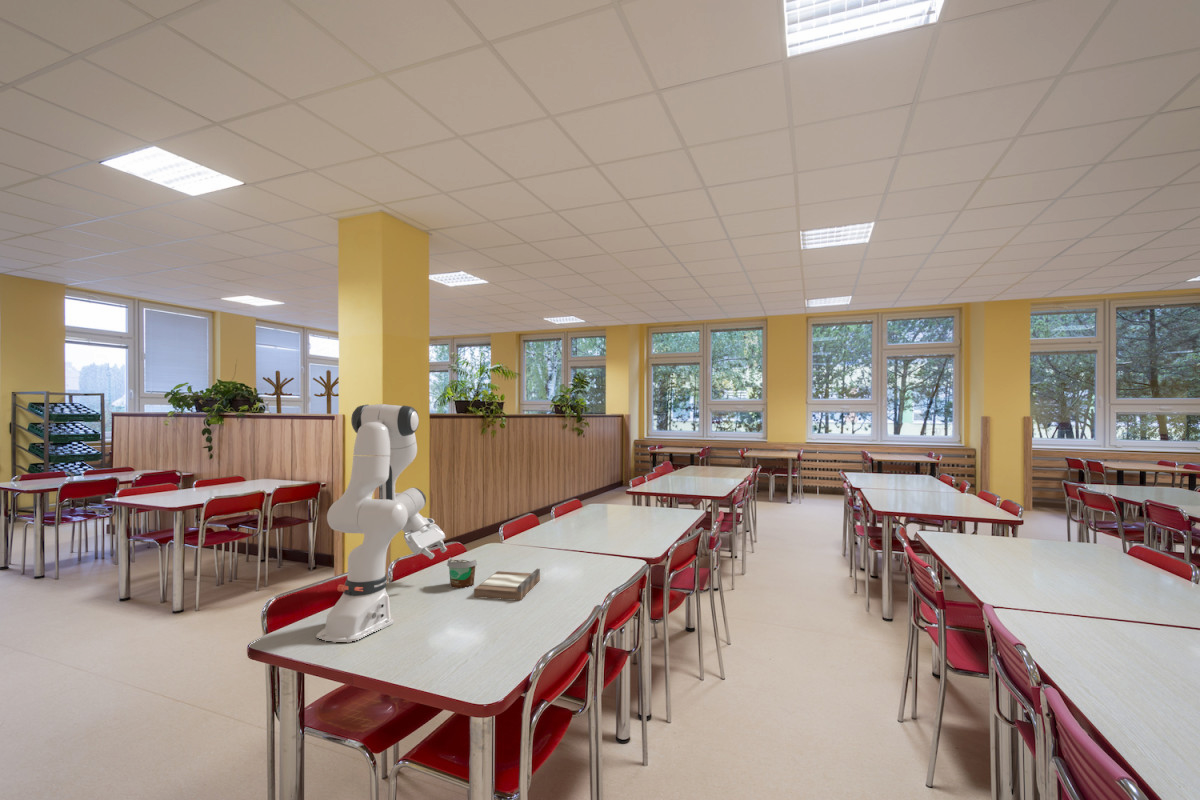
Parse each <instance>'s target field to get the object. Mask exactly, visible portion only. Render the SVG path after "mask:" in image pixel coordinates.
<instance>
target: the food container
mask: <svg viewBox="0 0 1200 800" xmlns="http://www.w3.org/2000/svg"><path fill="white" fill-rule="evenodd" d="M477 565H478V563H477V559H473V560H469V561H468V560H465V559H452V557H449V558H448V560H447V563H446V566H447V567H448V571H449V585H450V587H451V588H453V587H454V589H466V588H465V587H467V588H470V587H469V586H471V587H473V586H474V584H475V573H476V566H477ZM472 585H473V586H472Z"/></svg>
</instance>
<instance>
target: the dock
mask: <svg viewBox="0 0 1200 800" xmlns="http://www.w3.org/2000/svg"><path fill="white" fill-rule="evenodd" d="M539 581H540V582H541V568H536V569H535V570H534V571H533V572H532V573H531V572H517V571H516V572H515V571H502V570H501V571H500V570H499V571H498V570H497V571H495V572H494V573H493V574H492V575H490V576H489V577H488V578H486V579H485V580H484V581H482V582H481V583H480V584H478V585H477V586H475V587H474V588H473V597H474V598H479V597H487V598H486V599H493V598H501V599H500V600H506V599H515V600H514V601H520V600H521V601H522V600H523V599H524V598H525V597H526V596H527V595H528V594H529V593H530V592H531V591H532V590H533V589H534V588H535V587H536V586H537V585H538V584H539V583H540V582H539ZM538 582H539V583H538ZM537 583H538V584H537ZM536 584H537V585H536ZM535 585H536V586H535ZM534 586H535V587H534ZM533 587H534V588H533ZM532 588H533V589H532ZM531 589H532V590H531ZM530 590H531V591H530ZM529 591H530V592H529ZM528 592H529V593H528ZM527 593H528V594H527ZM526 594H527V595H526ZM525 595H526V596H525ZM524 596H525V597H524ZM523 597H524V598H523Z"/></svg>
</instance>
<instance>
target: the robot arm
mask: <svg viewBox="0 0 1200 800" xmlns="http://www.w3.org/2000/svg"><path fill="white" fill-rule="evenodd" d="M350 418H351V419H350V420H351V426H352V429H353V431H354V432H355V433H356V437H355V441H354V444H353V445H354V446H353V452H352V453H353V456H352V466H351V472H350V473H351V475H350V480H349V483H348V485H347V488H346V489H345V491H344V493H343V494H342V495H341V496H340V498H338V499H337V500H336V501H335V502H333V503H332V504H331V506H330V507H329V509H328V510H327V513H326V521H327V524H328V526H329V528H330V529H331V530H333V531H337V532H341V533H344V534H363V536H364V537H363V541H362V544H360V545H358V546H356V547H354V548H353V549H352V550H351V551H350V553H349V554H348V557H347V578H346V580H345V582H344V584H342V583H341V584H338V586H337V591H338V592H343V593H342V595H341V596H340V598H339V599H338V600H337V601H336V603H335V605H334V606H333V607H332V608H331V610H330V611H329V612H328V614H327V617H326V622H325V627H324V628H322V629H321V630H320V631H318V632H317V633H316V637H317V638H319V639H322V640H325V641H324V642H326V641H333V642H332V643H336V642H347V643H353V642H352V641H355V642H357V641H356V640H358V641H360V640H359V639H361V638H363V637H365V636H367V635H369V634H371V633H373V632H375V633H376V631H377V632H378V630H379V631H381V630H383V629H386V628H387V627H389V626H391V625H393V624H394V619H393V618H392V617H391V608H390V607H391V605H390V597H389V594H388V593H387V589H386V587H387V586H388V584H387V583H388V576H387V574H386V568H387V567H386V565H387V564H386V563H387V553H388V548H389V546H390V544H391V541H392V540H393V539H394V538H395V536H396V535H397V534H398V533H400V532H401V531H402V532H404V533H403V539H404V540H405V543H406V546H408V548H409V550H410V551H411V552H412V553H413V554H414V555H418V554H420V553H422V554H423V556H426V557H428V559H430V560H433V559H434V557H436V555H435V553H434V551H430V550H429V549H430V548H432V547H434V546H437V547H439V549H440V552H441V553H443V554H444V553H445V552H447V550H448V548H447V547H446V546H445V543H444V540H445V539H446V534H445V532H444V531H443V530H442V529H441V528H440V526H439V525H438V524H436V523H435V522H436V521H435V520H434V519H433V518H431V517H430V518H429V517H424V516H423V515H422V514H420V511H422V510H423V508H424V507H425V506H426V503H427V497H426V494H424V492H423V491H422V490H421V489H419V488H418V487H409V488H407V489H406V490H404V491H401V492H396V482H397V480H398V478H399V476H400V475H401V474H402V473H403V471H405V470H406V469H407V467H409V466H410V465H411V464H412V463H413V462H414V460H416V459H415V458H416V456H417V454H418V444H417V438H416V433H415V432H416V431H418V428H419V420H420V419H419V418H420V417H419V414H418V411H417V410H416V409H415V408H414V407H413V406H408V405H397V404H395V405H394V404H387V403H385V404H384V403H382V404H381V403H379V404H378V403H377V404H363V405H358V406H357V407H355V409H354V410H353V411H352V414H351V417H350ZM377 488H378V490H379V491H378V495H379V496H378V498H375V499H374V498H373V495H374V492H375V491H376V489H377ZM380 629H381V630H380ZM373 634H374V633H373ZM371 635H372V634H371ZM369 636H370V635H369ZM316 637H315V638H316ZM367 637H368V636H367ZM317 638H316V639H317ZM365 638H366V637H365ZM319 639H318V640H319ZM363 639H364V638H363ZM361 640H362V639H361Z"/></svg>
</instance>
